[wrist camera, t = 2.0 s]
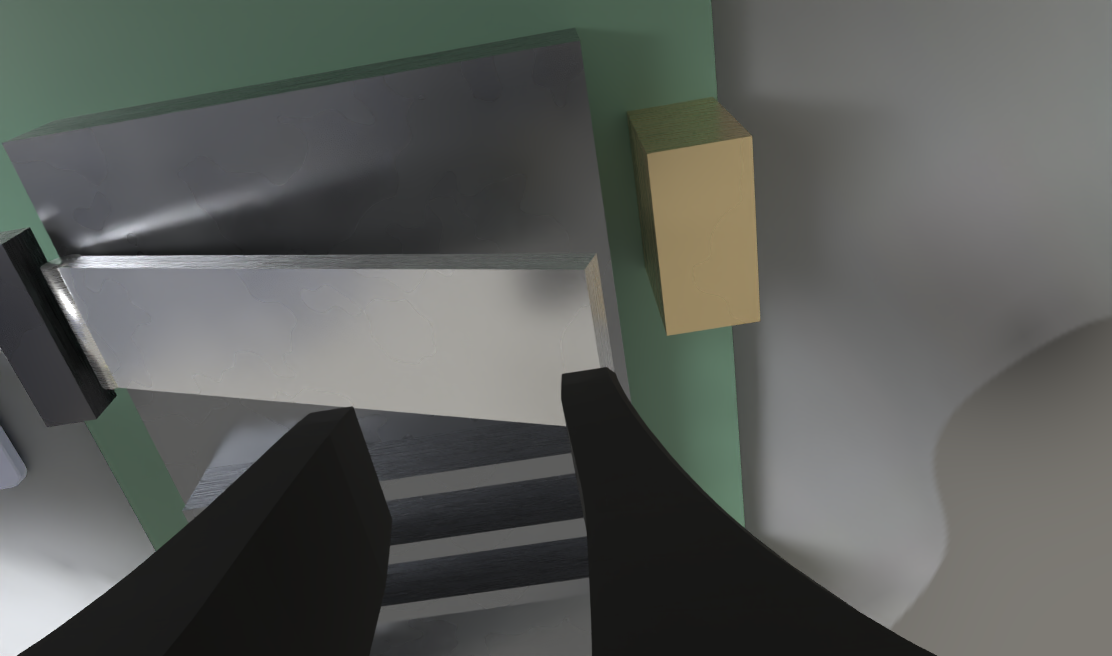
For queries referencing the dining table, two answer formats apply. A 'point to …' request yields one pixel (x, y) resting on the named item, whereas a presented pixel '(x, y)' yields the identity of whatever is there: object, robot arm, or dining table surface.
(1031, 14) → the dining table surface
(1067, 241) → the dining table surface
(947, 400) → the dining table surface
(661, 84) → the circuit board
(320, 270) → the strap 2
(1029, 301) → the dining table surface
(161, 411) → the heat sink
